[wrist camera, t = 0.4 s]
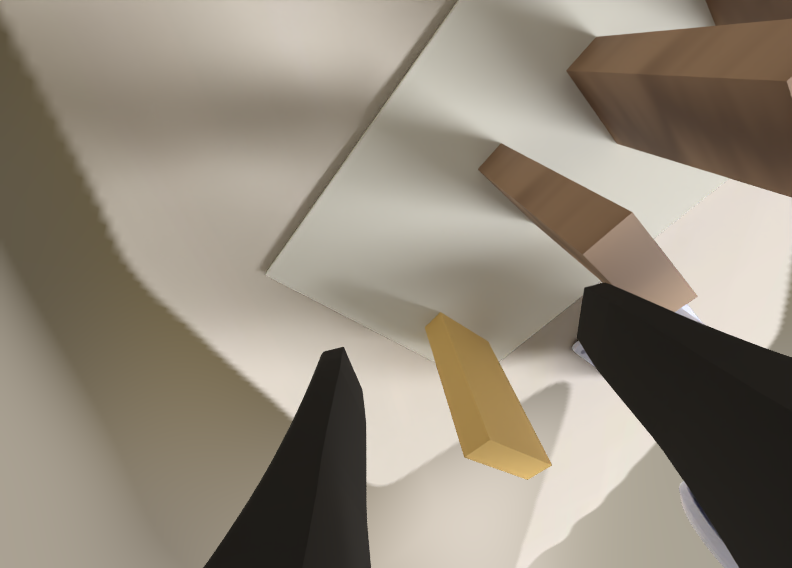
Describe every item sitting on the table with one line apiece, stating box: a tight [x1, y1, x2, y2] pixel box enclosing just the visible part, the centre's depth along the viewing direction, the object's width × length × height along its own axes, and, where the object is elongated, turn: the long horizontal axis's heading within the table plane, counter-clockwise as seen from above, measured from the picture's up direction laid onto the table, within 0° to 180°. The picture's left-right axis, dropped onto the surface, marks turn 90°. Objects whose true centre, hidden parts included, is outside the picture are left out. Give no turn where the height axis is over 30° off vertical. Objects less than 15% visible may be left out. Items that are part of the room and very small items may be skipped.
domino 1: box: [425, 312, 552, 480], centre depth 20 cm, size 5×2×9 cm, turn 50°
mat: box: [265, 0, 730, 363], centre depth 17 cm, size 18×33×1 cm, turn 140°
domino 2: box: [566, 19, 792, 197], centre depth 12 cm, size 5×2×9 cm, turn 50°
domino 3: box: [478, 143, 698, 312], centre depth 14 cm, size 5×2×9 cm, turn 50°
